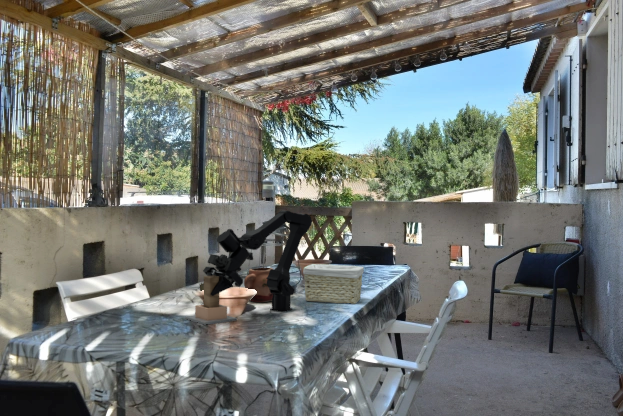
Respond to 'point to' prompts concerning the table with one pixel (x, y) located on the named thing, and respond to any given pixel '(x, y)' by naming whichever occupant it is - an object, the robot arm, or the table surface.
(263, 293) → the decorative planter
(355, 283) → the storage basket
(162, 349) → the table surface
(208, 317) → the square socket holder
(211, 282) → the walnut wood block
